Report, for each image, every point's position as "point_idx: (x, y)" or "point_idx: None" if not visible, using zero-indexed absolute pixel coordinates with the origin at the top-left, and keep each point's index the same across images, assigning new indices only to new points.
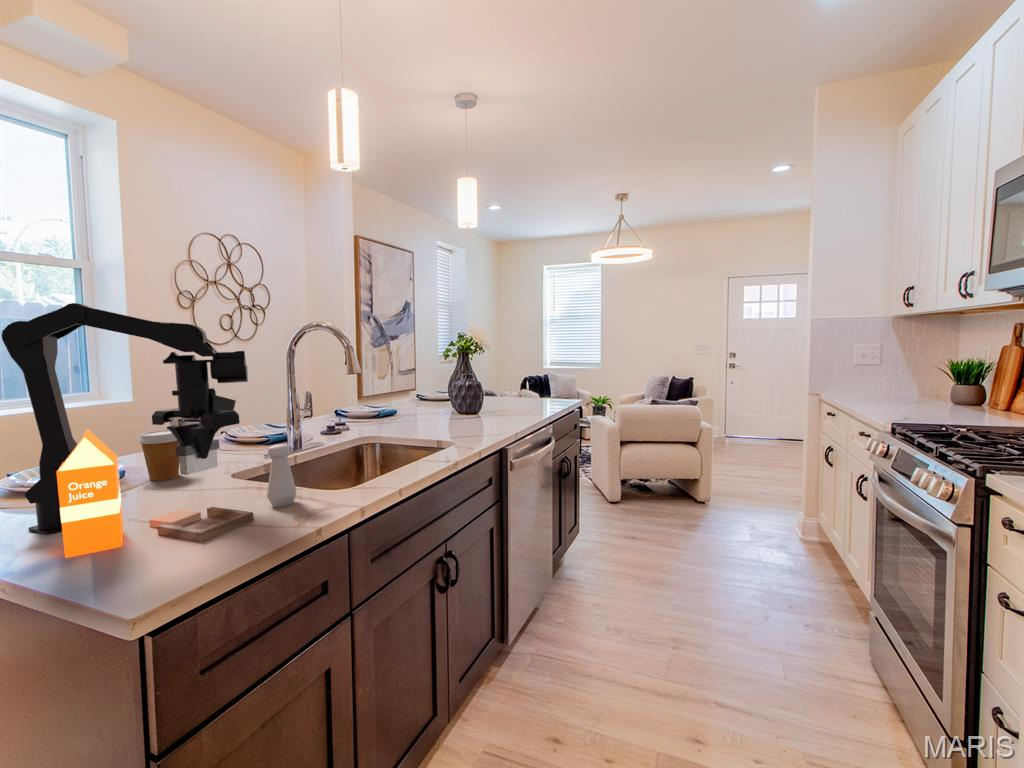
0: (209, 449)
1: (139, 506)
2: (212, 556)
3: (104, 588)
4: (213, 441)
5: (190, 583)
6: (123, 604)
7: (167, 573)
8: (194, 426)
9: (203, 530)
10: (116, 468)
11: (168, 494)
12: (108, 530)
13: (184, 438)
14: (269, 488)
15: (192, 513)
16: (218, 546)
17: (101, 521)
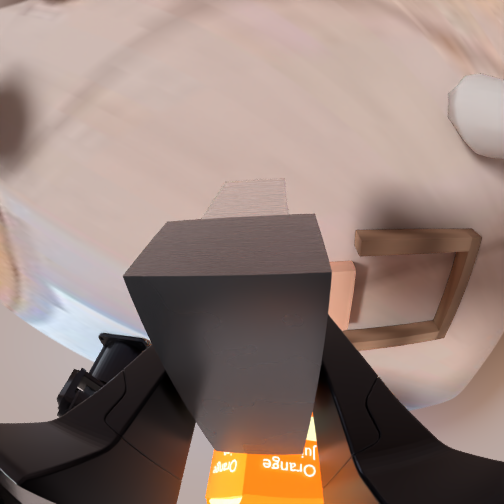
0: (346, 338)
1: (103, 253)
2: (472, 339)
3: (407, 402)
4: (324, 331)
5: (474, 369)
6: (441, 399)
7: (446, 374)
8: (97, 497)
9: (442, 331)
10: (295, 483)
11: (59, 169)
12: None
13: (180, 456)
14: (495, 156)
15: (342, 283)
16: (467, 323)
17: None
